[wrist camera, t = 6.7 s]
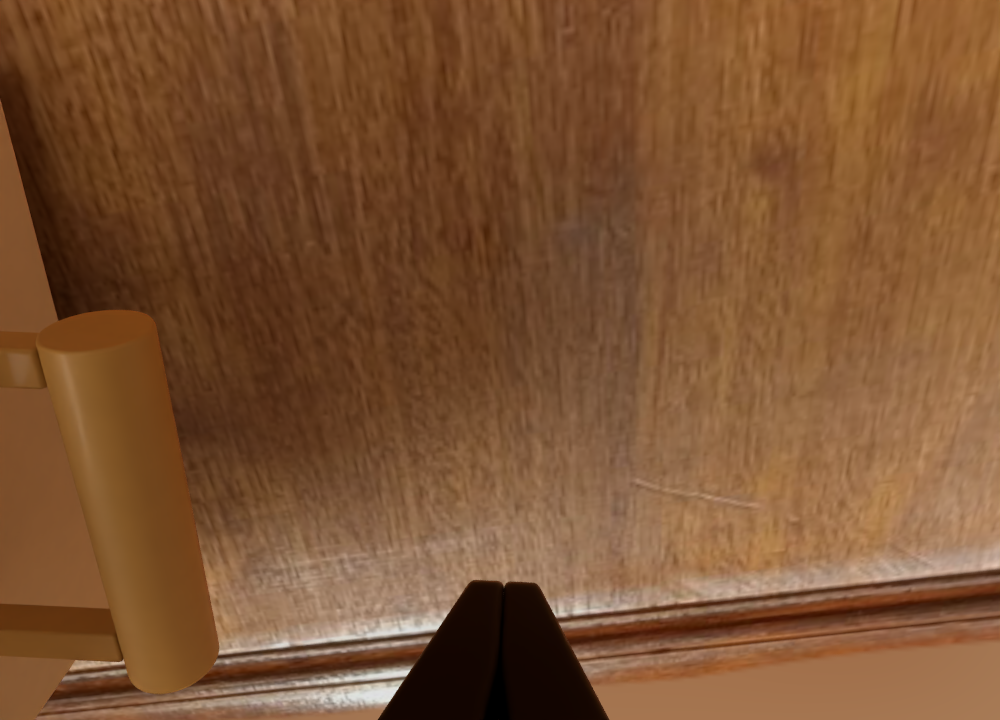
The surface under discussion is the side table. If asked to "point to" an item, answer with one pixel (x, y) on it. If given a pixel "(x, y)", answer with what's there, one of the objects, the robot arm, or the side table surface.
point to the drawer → (88, 490)
